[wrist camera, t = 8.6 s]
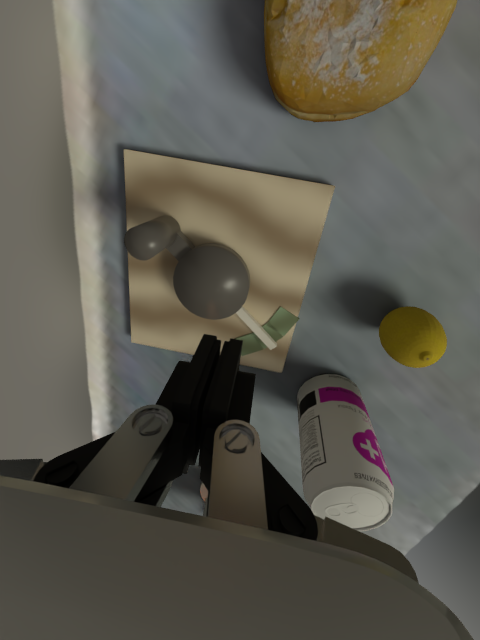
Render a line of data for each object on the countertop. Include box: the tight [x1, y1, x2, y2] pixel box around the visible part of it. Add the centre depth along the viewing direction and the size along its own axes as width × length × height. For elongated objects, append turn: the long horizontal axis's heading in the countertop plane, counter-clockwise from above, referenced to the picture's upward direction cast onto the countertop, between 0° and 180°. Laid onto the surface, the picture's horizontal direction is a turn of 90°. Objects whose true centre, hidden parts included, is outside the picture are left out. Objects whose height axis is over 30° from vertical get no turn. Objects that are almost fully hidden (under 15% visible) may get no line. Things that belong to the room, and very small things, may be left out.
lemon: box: [379, 306, 447, 368], centre depth 29 cm, size 6×6×8 cm
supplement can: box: [297, 374, 394, 531], centre depth 32 cm, size 8×8×15 cm
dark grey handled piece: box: [124, 215, 277, 350], centre depth 29 cm, size 19×8×6 cm, turn 42°
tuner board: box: [124, 149, 335, 373], centre depth 32 cm, size 22×20×1 cm
